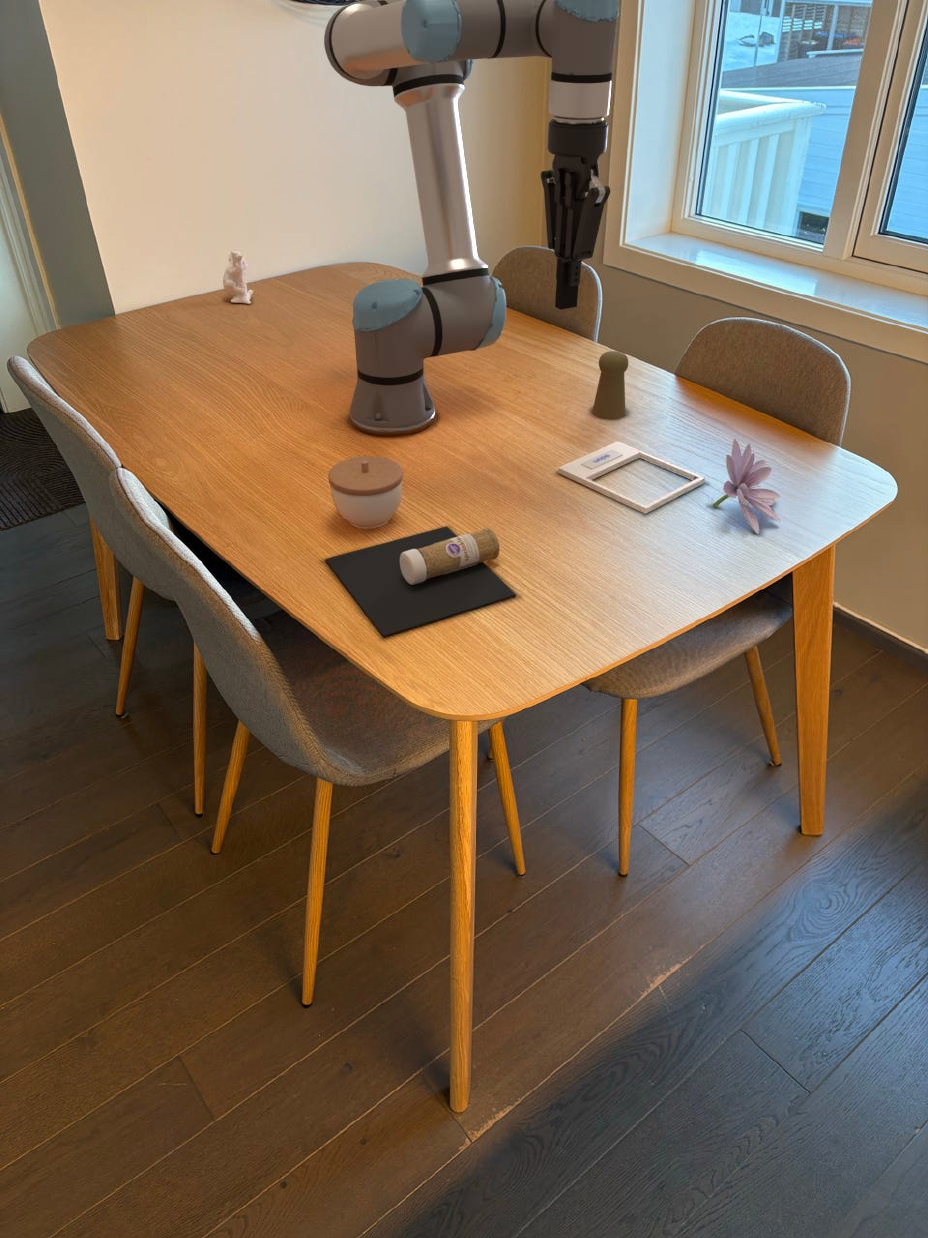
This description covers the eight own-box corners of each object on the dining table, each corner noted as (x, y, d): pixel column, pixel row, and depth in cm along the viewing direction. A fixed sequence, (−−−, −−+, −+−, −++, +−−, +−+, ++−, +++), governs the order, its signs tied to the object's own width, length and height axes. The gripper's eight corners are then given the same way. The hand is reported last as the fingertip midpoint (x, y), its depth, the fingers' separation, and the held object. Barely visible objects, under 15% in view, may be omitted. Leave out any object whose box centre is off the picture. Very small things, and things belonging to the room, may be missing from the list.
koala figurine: (259, 304, 221) (252, 251, 214) (231, 308, 219) (223, 254, 212) (250, 294, 227) (243, 242, 220) (223, 297, 225) (215, 245, 218)
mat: (325, 561, 130) (325, 558, 130) (446, 528, 137) (446, 526, 137) (383, 638, 116) (383, 635, 115) (516, 596, 123) (516, 594, 122)
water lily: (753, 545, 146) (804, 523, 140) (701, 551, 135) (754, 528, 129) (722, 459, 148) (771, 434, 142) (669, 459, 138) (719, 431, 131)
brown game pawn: (624, 420, 167) (630, 360, 161) (590, 417, 168) (595, 358, 162) (626, 406, 172) (632, 348, 166) (593, 404, 173) (598, 346, 167)
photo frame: (617, 439, 158) (705, 476, 147) (617, 445, 159) (704, 482, 148) (558, 466, 150) (646, 507, 139) (557, 472, 151) (645, 513, 140)
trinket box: (333, 502, 143) (328, 446, 138) (403, 499, 144) (401, 443, 138) (331, 538, 135) (325, 480, 129) (406, 535, 135) (403, 477, 130)
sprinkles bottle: (503, 543, 126) (416, 570, 120) (496, 565, 130) (411, 592, 124) (487, 519, 128) (400, 545, 122) (480, 541, 132) (396, 567, 126)
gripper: (634, 123, 114) (615, 316, 128) (574, 108, 123) (562, 289, 137) (583, 128, 111) (569, 324, 125) (526, 113, 120) (519, 297, 134)
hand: (565, 306), depth 131 cm, fingers closed
